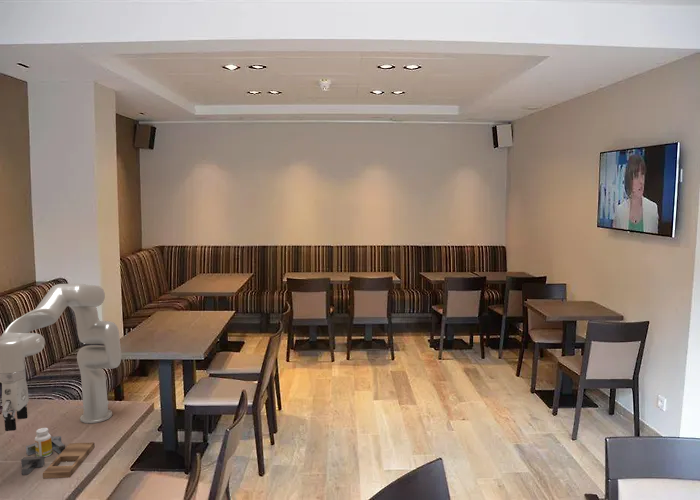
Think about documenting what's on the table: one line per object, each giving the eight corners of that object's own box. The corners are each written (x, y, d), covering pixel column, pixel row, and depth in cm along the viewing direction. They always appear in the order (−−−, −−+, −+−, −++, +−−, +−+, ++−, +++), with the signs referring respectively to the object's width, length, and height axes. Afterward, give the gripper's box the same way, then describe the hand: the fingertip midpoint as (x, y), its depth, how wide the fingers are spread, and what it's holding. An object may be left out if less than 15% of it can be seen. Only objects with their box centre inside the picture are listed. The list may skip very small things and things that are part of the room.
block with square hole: (70, 448, 220) (69, 443, 219) (94, 447, 220) (94, 442, 220) (43, 478, 198) (42, 473, 198) (70, 477, 198) (69, 471, 198)
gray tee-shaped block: (24, 464, 207) (23, 457, 207) (44, 464, 208) (44, 456, 207) (14, 475, 200) (13, 466, 200) (35, 474, 201) (34, 466, 200)
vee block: (36, 444, 223) (35, 437, 223) (73, 443, 224) (73, 435, 223) (24, 455, 214) (23, 448, 214) (63, 454, 215) (63, 446, 215)
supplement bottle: (55, 451, 218) (53, 426, 216) (48, 458, 212) (46, 433, 211) (40, 451, 217) (38, 426, 216) (33, 458, 212) (31, 433, 211)
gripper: (14, 383, 186) (18, 434, 188) (34, 366, 203) (38, 413, 205) (-11, 385, 185) (-7, 436, 187) (11, 368, 202) (15, 415, 204)
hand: (16, 424), depth 196 cm, fingers open, 9 cm apart
